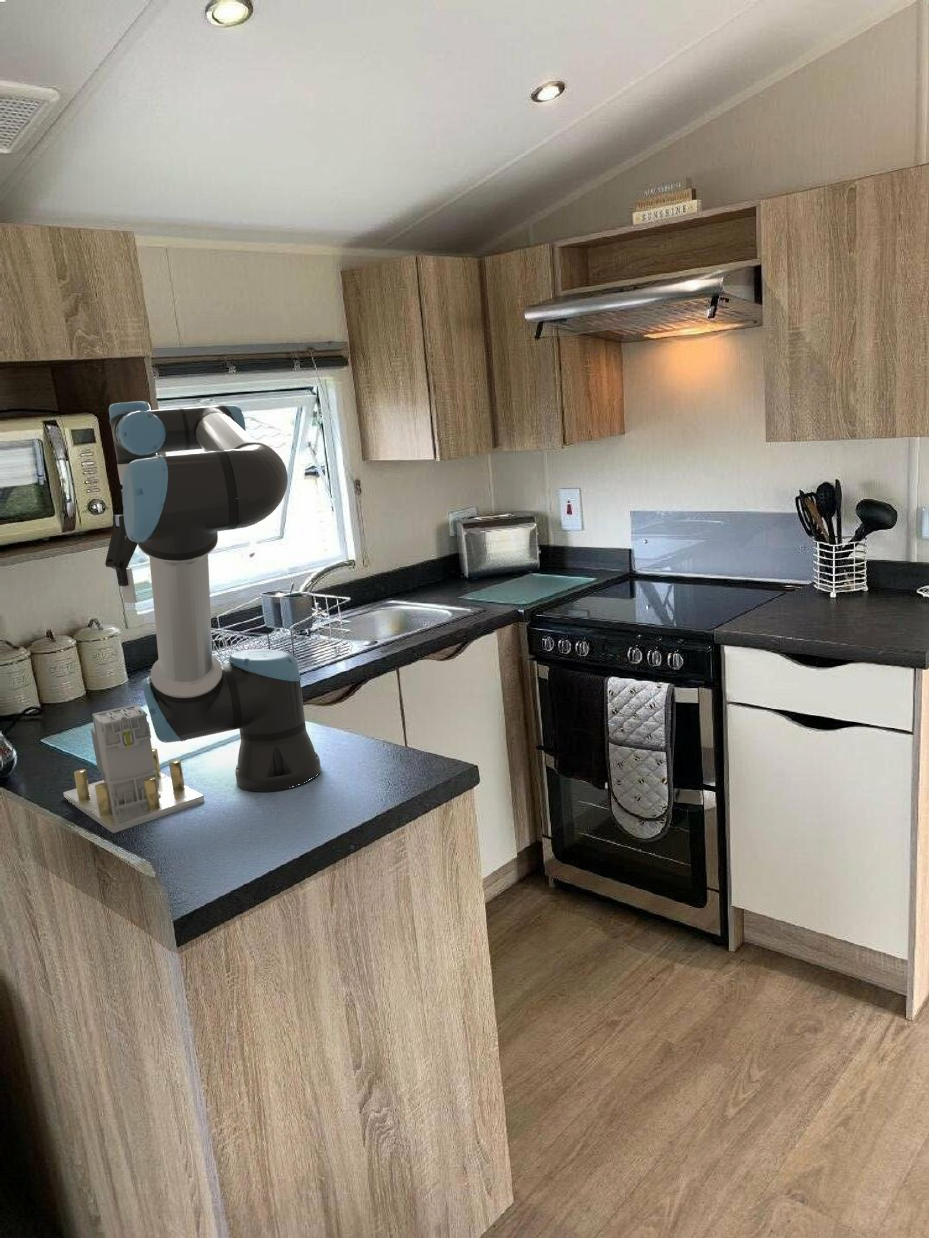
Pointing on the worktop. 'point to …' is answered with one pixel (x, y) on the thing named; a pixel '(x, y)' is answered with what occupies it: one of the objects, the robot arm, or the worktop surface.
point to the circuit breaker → (124, 753)
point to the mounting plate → (103, 811)
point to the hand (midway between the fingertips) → (158, 595)
